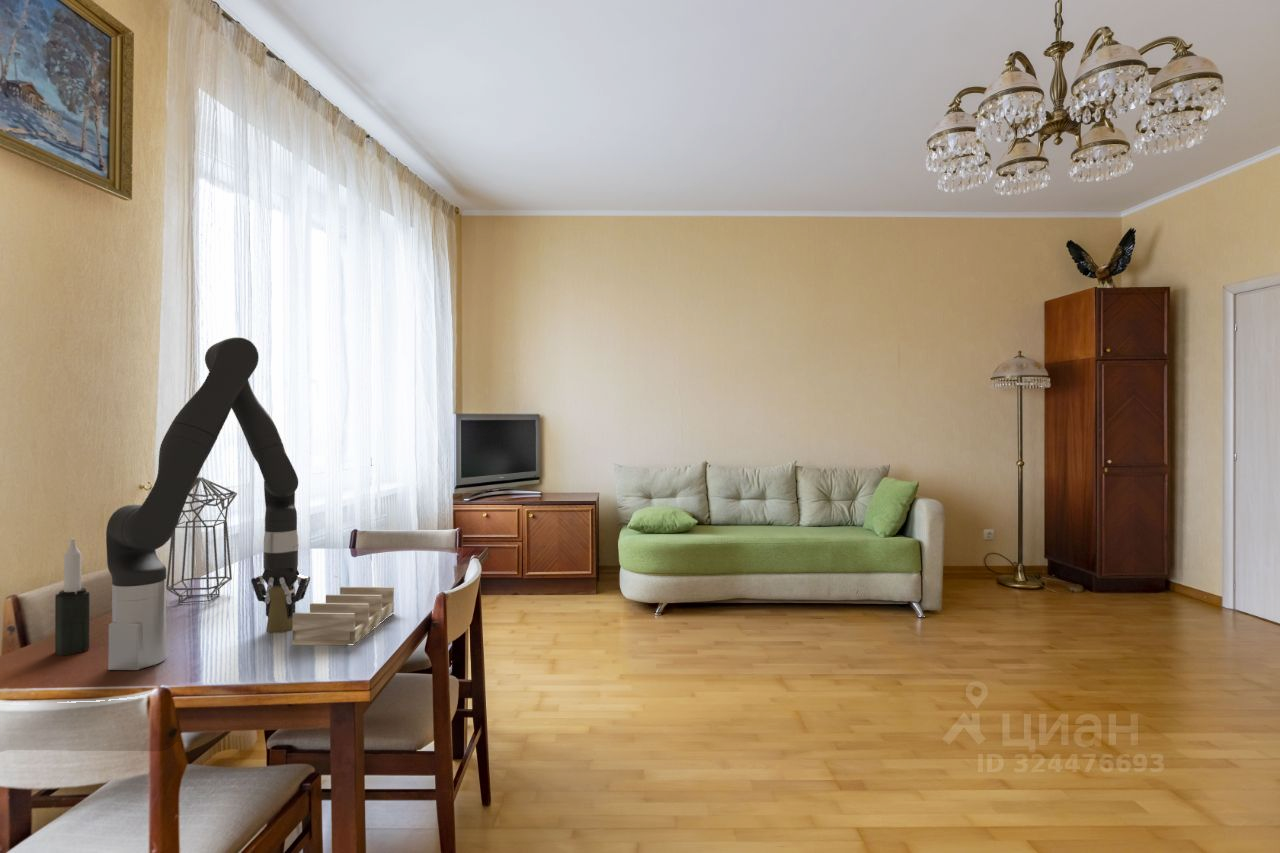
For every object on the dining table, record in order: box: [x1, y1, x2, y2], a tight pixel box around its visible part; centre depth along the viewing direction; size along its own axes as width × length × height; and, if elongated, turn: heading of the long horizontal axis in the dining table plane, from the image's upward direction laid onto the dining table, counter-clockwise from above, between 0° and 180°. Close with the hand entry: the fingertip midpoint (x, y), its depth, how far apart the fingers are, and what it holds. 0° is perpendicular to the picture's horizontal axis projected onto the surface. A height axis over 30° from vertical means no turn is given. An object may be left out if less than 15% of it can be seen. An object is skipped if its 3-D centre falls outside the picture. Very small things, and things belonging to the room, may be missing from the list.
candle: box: [54, 537, 91, 656], centre depth 150 cm, size 5×5×25 cm
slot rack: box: [291, 586, 395, 646], centre depth 168 cm, size 25×14×7 cm, turn 0°
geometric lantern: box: [166, 476, 238, 604], centre depth 193 cm, size 16×16×35 cm
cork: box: [265, 586, 293, 634], centre depth 167 cm, size 6×6×11 cm
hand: (280, 617), depth 167 cm, fingers closed on cork, 4 cm apart
